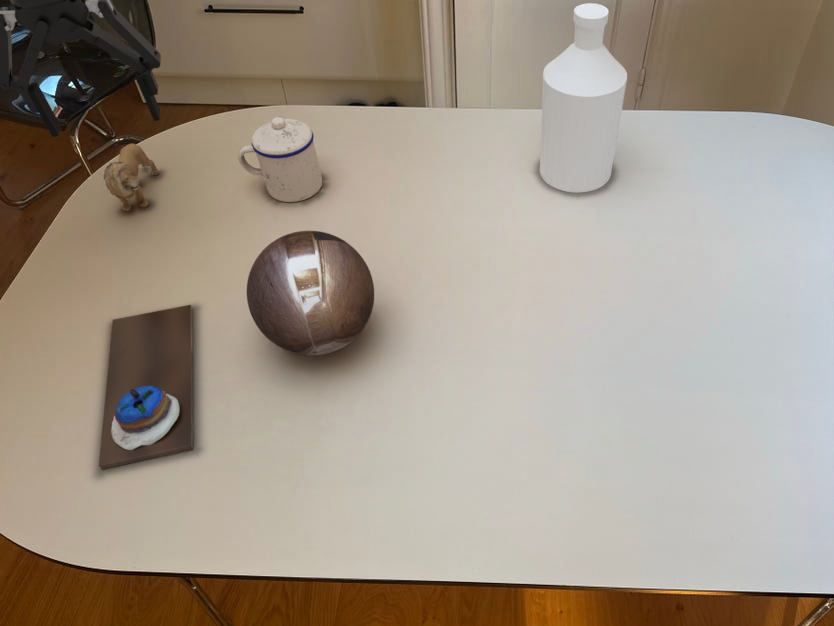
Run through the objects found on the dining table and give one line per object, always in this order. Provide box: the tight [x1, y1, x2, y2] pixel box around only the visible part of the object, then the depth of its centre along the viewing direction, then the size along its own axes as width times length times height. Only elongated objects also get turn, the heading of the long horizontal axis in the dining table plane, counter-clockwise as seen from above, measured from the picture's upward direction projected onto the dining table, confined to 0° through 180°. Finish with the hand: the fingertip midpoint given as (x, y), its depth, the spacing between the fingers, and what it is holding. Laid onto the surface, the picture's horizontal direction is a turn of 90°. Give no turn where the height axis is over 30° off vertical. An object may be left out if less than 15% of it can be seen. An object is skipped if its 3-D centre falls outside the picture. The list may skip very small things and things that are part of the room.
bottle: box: [539, 2, 628, 194], centre depth 103 cm, size 12×12×25 cm
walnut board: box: [98, 304, 194, 470], centre depth 86 cm, size 10×23×1 cm, turn 15°
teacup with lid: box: [237, 116, 323, 203], centre depth 107 cm, size 12×9×12 cm
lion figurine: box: [103, 143, 160, 212], centre depth 107 cm, size 15×5×9 cm, turn 13°
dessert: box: [111, 386, 180, 450], centre depth 81 cm, size 8×7×6 cm
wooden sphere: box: [246, 230, 375, 356], centre depth 85 cm, size 15×15×15 cm
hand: (107, 123), depth 99 cm, fingers open, 13 cm apart
